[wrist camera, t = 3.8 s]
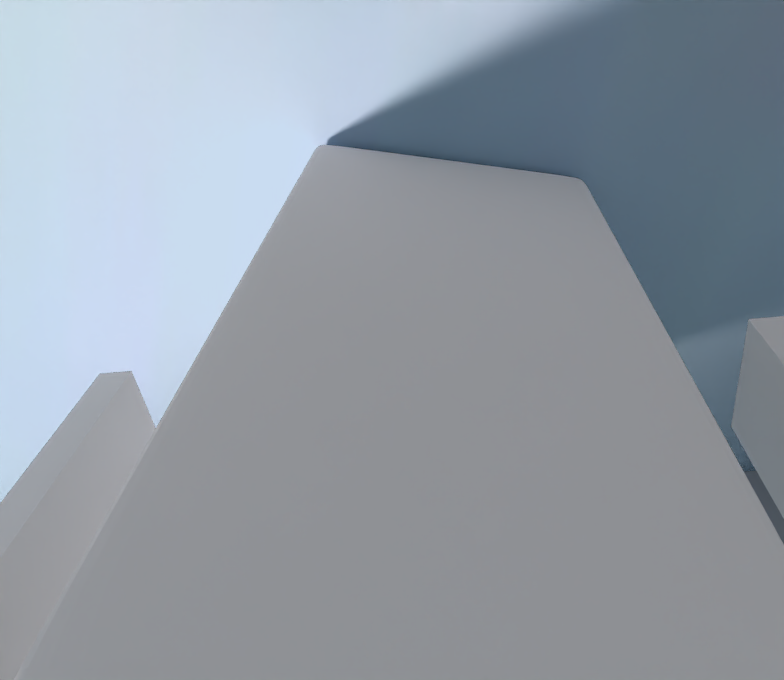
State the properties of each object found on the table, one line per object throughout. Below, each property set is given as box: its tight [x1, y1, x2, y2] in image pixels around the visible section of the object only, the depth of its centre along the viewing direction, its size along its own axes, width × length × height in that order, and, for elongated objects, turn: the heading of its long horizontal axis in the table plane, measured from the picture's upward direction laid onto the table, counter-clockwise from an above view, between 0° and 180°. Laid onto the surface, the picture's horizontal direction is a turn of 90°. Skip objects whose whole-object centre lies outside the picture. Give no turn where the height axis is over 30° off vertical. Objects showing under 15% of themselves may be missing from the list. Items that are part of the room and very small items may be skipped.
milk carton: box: [14, 145, 784, 680], centre depth 11 cm, size 7×7×19 cm
